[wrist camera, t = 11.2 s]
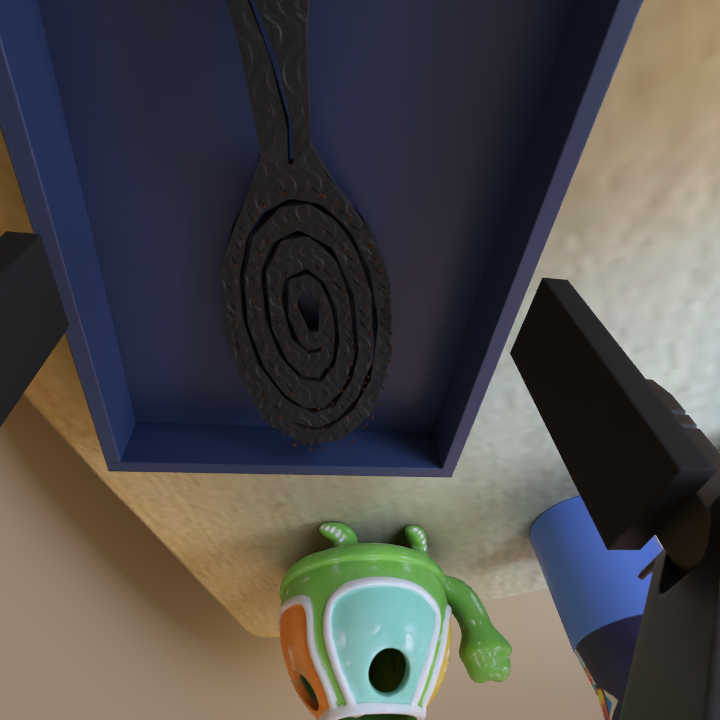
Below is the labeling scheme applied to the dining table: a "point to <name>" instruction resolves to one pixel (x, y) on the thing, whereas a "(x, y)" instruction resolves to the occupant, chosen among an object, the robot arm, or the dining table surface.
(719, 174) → the dining table surface
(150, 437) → the tray
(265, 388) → the hairbrush
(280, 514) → the dining table surface
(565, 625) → the water bottle
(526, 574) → the dining table surface
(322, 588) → the turtle holder
